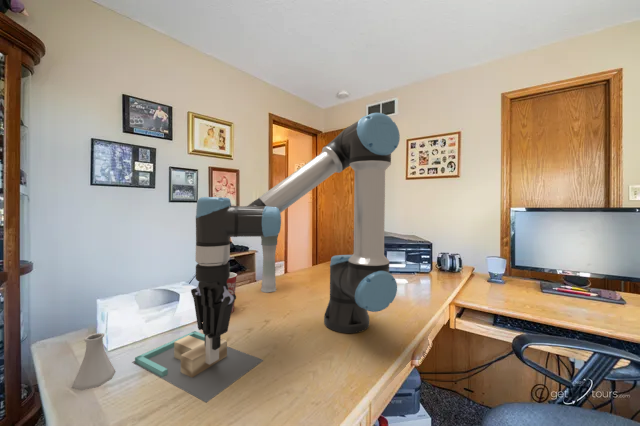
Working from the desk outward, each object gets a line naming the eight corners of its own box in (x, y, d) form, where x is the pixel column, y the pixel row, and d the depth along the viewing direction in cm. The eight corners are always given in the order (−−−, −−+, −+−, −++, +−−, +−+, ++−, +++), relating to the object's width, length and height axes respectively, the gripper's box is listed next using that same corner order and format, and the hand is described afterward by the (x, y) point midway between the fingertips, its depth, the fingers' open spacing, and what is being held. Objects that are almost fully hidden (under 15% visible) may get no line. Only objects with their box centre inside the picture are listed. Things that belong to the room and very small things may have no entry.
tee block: (226, 356, 69) (227, 340, 69) (192, 377, 61) (192, 360, 60) (198, 345, 75) (198, 330, 74) (162, 363, 66) (162, 347, 66)
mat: (263, 361, 68) (263, 355, 68) (206, 404, 53) (206, 396, 53) (193, 335, 81) (193, 329, 81) (131, 363, 66) (131, 357, 66)
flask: (89, 371, 63) (89, 329, 63) (122, 370, 63) (122, 328, 63) (62, 393, 56) (62, 345, 55) (100, 391, 56) (100, 344, 56)
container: (262, 286, 130) (263, 224, 130) (281, 287, 129) (282, 225, 128) (255, 292, 121) (255, 225, 120) (275, 294, 120) (276, 226, 119)
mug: (236, 315, 96) (237, 277, 96) (209, 317, 94) (209, 279, 93) (236, 302, 108) (236, 269, 108) (212, 304, 106) (212, 270, 105)
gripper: (245, 262, 64) (244, 361, 65) (207, 257, 70) (207, 346, 71) (219, 268, 57) (218, 378, 58) (181, 262, 64) (180, 360, 64)
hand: (212, 360), depth 64 cm, fingers closed
